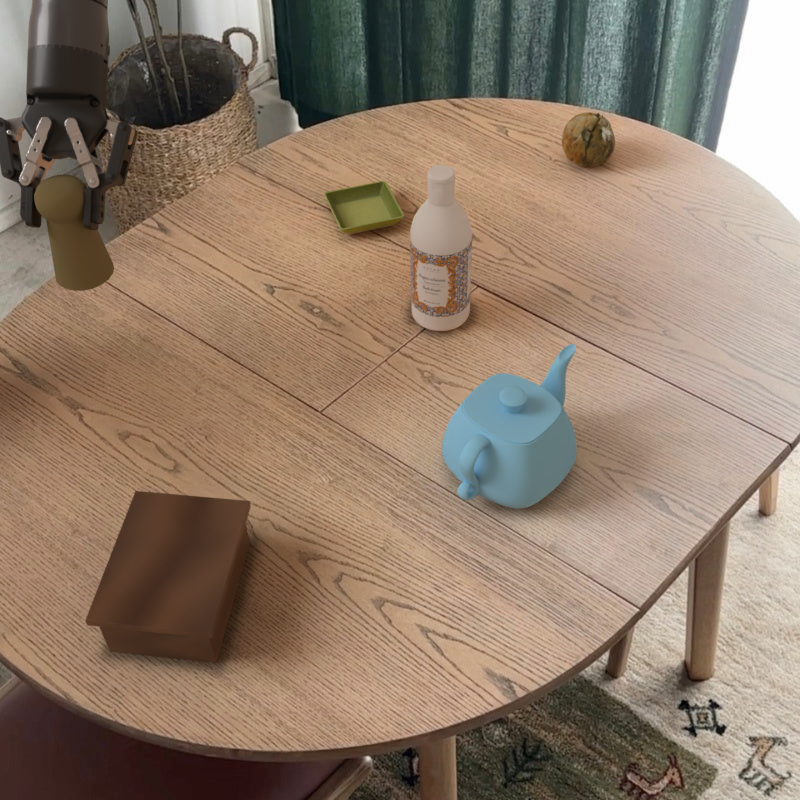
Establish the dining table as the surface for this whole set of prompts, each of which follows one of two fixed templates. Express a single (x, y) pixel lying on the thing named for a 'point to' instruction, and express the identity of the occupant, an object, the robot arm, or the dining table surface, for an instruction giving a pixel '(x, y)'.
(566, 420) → the teapot
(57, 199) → the olive pawn
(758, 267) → the dining table surface
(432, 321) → the bath foam
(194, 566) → the lidded wooden box
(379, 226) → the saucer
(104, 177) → the robot arm
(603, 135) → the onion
